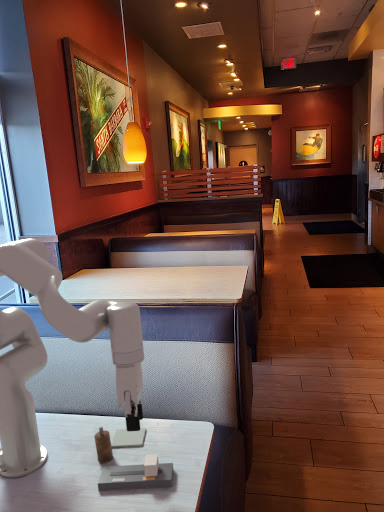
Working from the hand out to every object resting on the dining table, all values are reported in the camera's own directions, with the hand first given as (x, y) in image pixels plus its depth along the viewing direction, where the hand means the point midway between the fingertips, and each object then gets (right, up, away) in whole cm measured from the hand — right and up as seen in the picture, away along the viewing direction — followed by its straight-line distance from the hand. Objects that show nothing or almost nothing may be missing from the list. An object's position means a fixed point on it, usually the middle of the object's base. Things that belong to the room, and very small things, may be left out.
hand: (135, 424), depth 99 cm
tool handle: (-10, -14, +12) cm, 21 cm away
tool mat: (-5, -13, +20) cm, 24 cm away
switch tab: (+4, -12, +2) cm, 13 cm away
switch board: (0, -15, +3) cm, 15 cm away
